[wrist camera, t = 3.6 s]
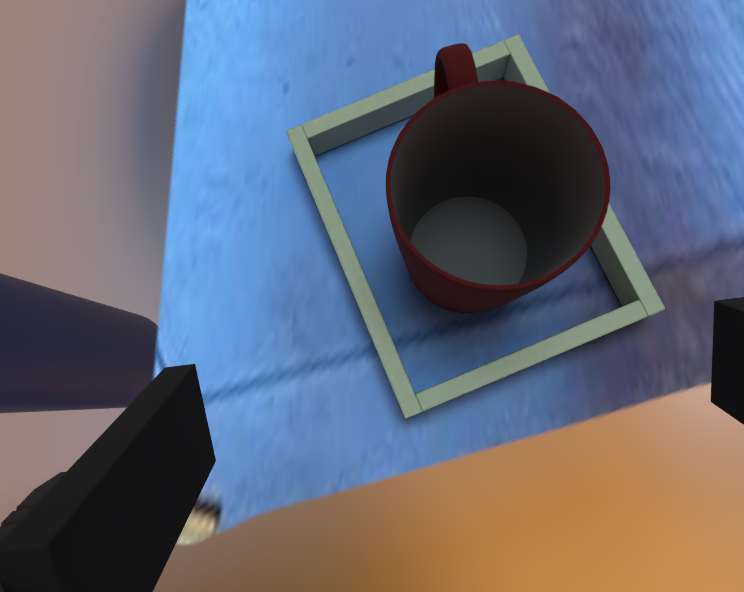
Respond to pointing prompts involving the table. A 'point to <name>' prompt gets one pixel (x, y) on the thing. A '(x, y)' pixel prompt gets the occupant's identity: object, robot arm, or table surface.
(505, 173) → the mug
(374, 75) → the table surface
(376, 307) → the green rectangular frame
